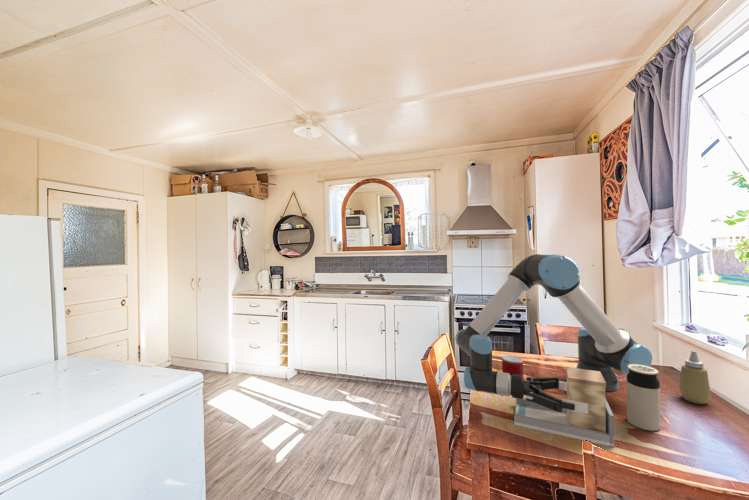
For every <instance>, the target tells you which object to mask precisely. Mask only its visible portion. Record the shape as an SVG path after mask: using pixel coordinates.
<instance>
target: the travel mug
mask: <svg viewBox="0 0 749 500" xmlns="http://www.w3.org/2000/svg"><path fill="white" fill-rule="evenodd" d="M627 367H628V368H629V373H628V374H626V417H627V418H626V419H627V422H628V423H629V424H631V425H632V426H635V427H636V428H639V429H641V430H645V431H650V432H651V431H655V432H656V431H660V430H661V390H660V389H661V384H660V383H661V381H660V380H659V379H658V374H659V370H657V369H656V368H654V367H651V366H650V367H649V366H645V365H638V364H630V365H628V366H627Z"/></svg>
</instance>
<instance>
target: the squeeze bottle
mask: <svg viewBox="0 0 749 500" xmlns="http://www.w3.org/2000/svg"><path fill="white" fill-rule="evenodd" d="M680 369H681V370H680V376H679V384H678V388H679V391H680V393H681V396H682V398H683V399H684V400H686V401H688V402H690V403H694V404H700V405H705V404H707V402H708V401H709V398H710V397H711V388H710V387H711V385H710V381H709V373H708V371H707V369H705V368H704V363H703V361H700V359H699V356H698V352H697V351H695V350H691V352H690V356H689V359H684V364H683V365H681V368H680Z"/></svg>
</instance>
